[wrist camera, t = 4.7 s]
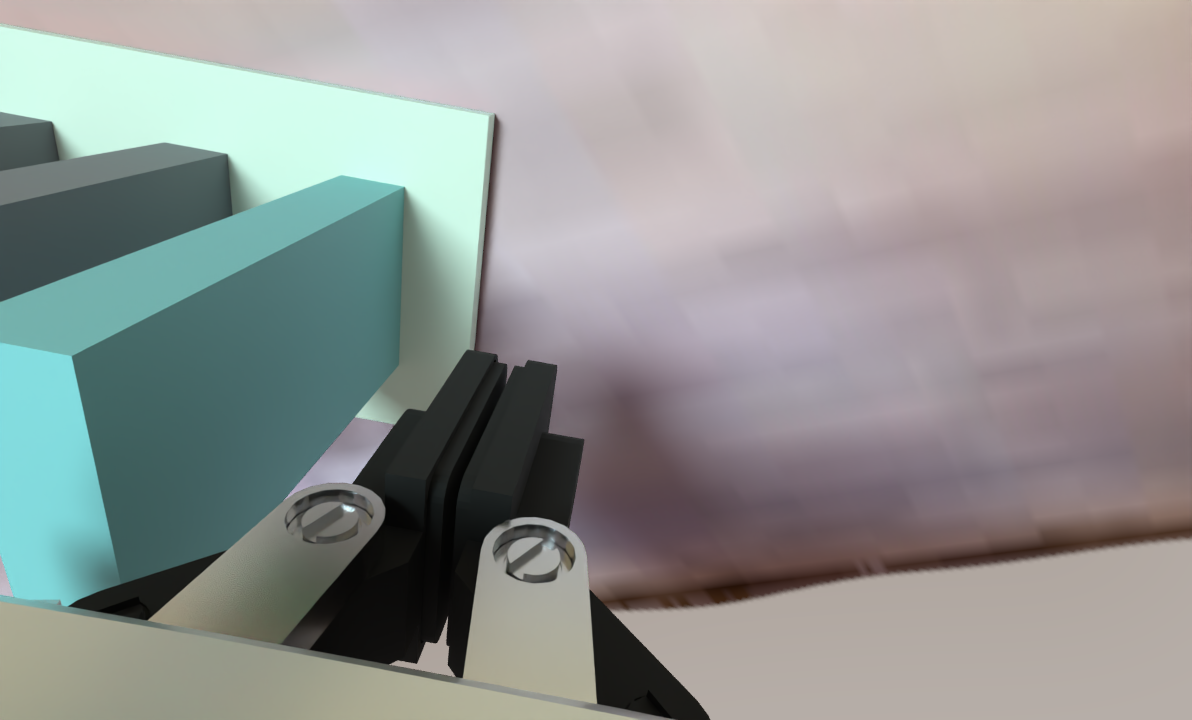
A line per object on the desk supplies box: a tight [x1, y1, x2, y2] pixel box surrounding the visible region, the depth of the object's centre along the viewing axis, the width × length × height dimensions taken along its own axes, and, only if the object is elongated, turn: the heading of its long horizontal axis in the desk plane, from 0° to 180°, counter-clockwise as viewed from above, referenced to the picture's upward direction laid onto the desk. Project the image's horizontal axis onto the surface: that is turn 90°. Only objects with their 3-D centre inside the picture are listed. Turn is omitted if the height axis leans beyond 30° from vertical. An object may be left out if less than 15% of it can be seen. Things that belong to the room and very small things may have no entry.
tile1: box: [0, 175, 405, 606], centre depth 13 cm, size 2×5×10 cm, turn 171°
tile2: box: [0, 142, 233, 302], centre depth 13 cm, size 2×5×10 cm, turn 171°
